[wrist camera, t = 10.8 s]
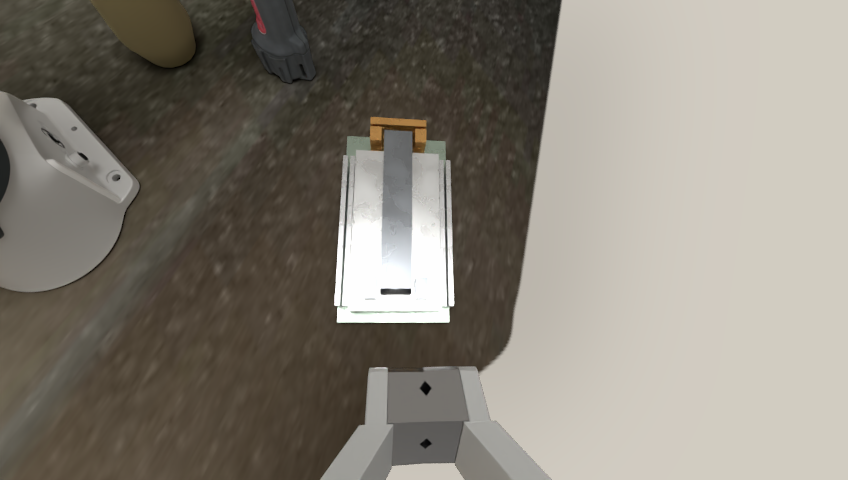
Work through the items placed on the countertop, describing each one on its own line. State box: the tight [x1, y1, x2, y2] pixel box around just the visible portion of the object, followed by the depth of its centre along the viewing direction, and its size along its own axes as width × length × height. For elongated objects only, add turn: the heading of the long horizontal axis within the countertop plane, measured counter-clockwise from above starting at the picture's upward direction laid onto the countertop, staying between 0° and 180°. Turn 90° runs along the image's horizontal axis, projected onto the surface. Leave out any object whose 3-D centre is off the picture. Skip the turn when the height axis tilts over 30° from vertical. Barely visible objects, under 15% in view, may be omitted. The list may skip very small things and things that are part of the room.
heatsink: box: [334, 117, 454, 323], centre depth 38 cm, size 22×12×8 cm, turn 0°
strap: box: [380, 130, 412, 294], centre depth 36 cm, size 18×3×1 cm, turn 0°
